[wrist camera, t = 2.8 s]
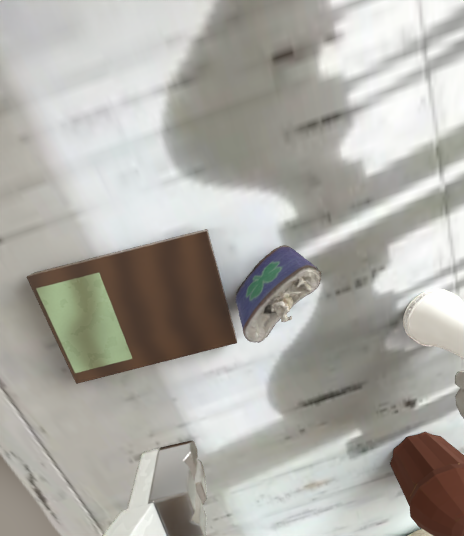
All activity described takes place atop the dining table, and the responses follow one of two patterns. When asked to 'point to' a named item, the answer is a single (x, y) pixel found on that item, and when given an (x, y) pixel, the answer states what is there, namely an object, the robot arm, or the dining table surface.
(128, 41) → the dining table surface
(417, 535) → the washcloth
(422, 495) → the muffin
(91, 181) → the dining table surface
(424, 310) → the white salt shaker
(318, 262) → the dining table surface
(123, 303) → the board
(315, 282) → the flask
